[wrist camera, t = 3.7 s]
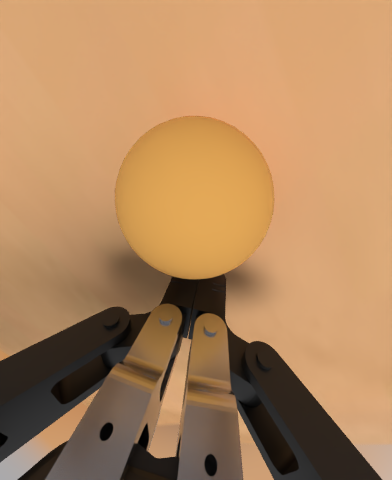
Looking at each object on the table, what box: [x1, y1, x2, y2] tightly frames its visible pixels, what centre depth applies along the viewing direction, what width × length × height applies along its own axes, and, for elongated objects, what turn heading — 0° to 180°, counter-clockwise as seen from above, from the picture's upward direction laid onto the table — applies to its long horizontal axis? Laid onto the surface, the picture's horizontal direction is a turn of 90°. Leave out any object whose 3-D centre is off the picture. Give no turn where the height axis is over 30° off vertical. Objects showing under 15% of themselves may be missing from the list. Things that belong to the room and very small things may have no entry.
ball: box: [115, 116, 274, 279], centre depth 7 cm, size 6×6×6 cm
